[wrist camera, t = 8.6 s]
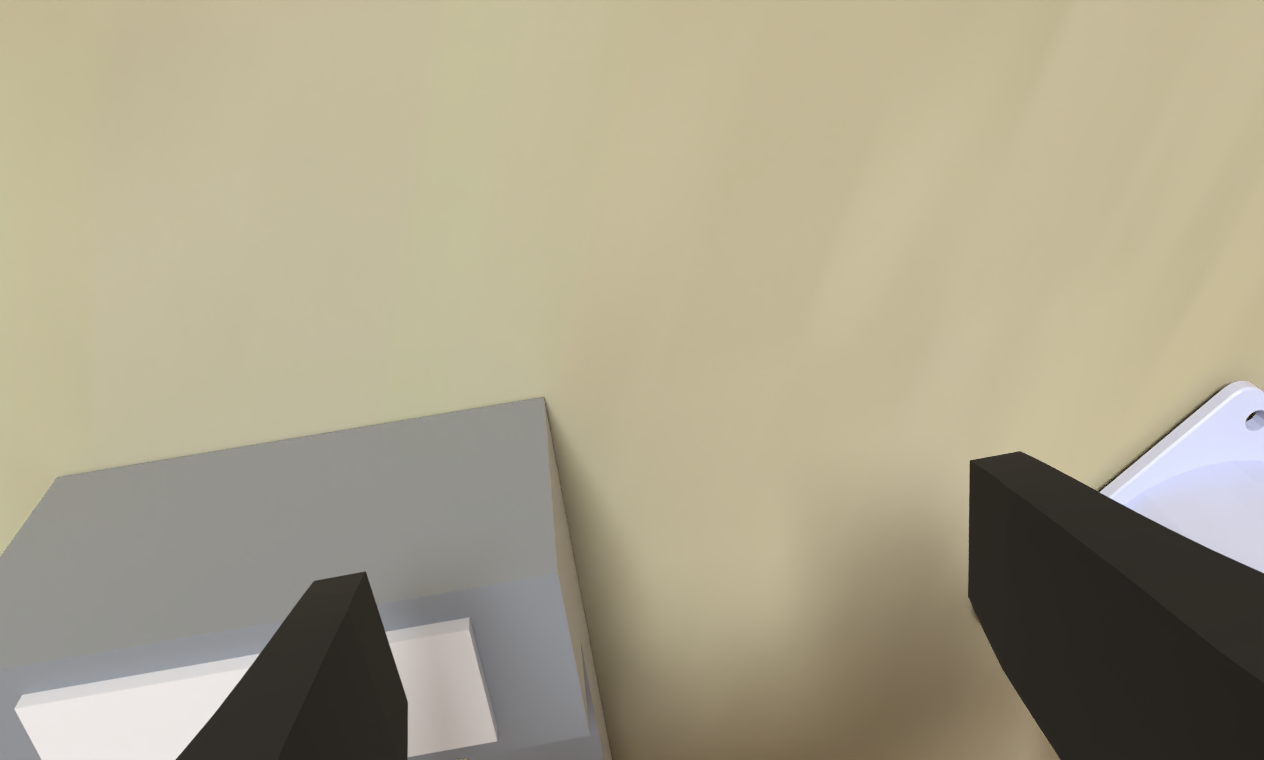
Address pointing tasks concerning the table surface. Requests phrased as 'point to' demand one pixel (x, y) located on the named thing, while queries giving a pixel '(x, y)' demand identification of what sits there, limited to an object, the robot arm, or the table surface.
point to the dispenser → (282, 572)
